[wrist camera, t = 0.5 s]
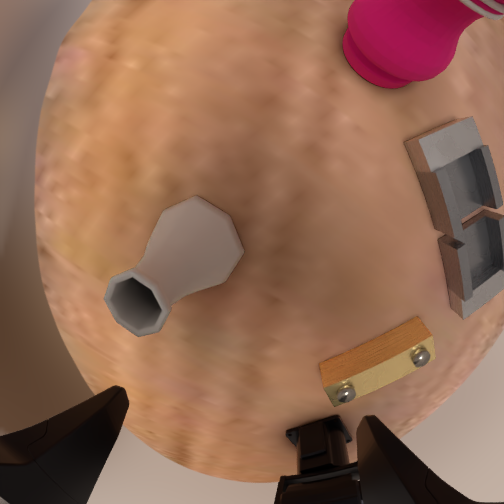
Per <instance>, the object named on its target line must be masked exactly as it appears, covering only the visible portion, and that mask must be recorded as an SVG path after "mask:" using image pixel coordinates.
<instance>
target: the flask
mask: <svg viewBox="0 0 504 504" xmlns="http://www.w3.org/2000/svg"><path fill="white" fill-rule="evenodd" d="M244 252H245V251H244V249H243V246H242V244H241V241H240V239H239V237H238V234H237V232H236V229H235V227H234V224H233V222H232V219H231V217H230V215H228V214H226V213H225V212H223V211H222V210H220V209H218V208H217V207H215V206H213V205H212V204H210V203H209V202H207V201H205V200H204V199H202V198H200V197H199V196H197V195H196V196H193V197H191V198H189V199H187V200H184V201H182V202H180V203H178V204H175V205H173V206H171V207H169V208H167V209H165V210H163V212H162V214H161V216H160V218H159V220H158V222H157V224H156V226H155V228H154V230H153V233H152V235H151V237H150V239H149V241H148V244H147V247H146V250H145V254H144V256H143V257H142V259H141V260H140V261H139V263H138V264H137V265H136V267H135V268H132V269H130V270H127V271H125V272H122V273H120V274H118V275H115V276H113V277H112V278H111V279H110V282H109V285H108V288H107V291H106V294H105V297H104V300H105V302H106V304H107V306H108V308H109V310H110V311H111V313H112V315H113V317H114V319H115V320H116V322H117V323H118V324H120V325H121V326H123V327H124V328H126V329H127V330H128V331H130V332H131V333H133V334H134V335H136V336H137V337H141V336H145V335H149V334H153V333H157V332H159V331H160V330H161V329H162V327H163V325H164V323H165V321H166V319H167V317H168V315H169V313H170V312H171V309H172V307H171V306H172V305H173V304H175V303H176V302H177V301H179V300H180V299H181V298H183V297H184V296H186V295H189V294H192V293H194V292H197V291H200V290H203V289H206V288H209V287H212V286H215V285H218V284H221V283H224V282H226V280H227V279H228V277H229V276H230V274H231V273H232V271H233V269H234V268H235V266H236V265H237V263H238V262H239V260H240V259H241V257H242V255H243V254H244Z"/></svg>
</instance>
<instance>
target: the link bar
mask: <svg viewBox="0 0 504 504" xmlns="http://www.w3.org/2000/svg"><path fill="white" fill-rule="evenodd" d="M434 359H436V357H435V348H434V341H433V335H432V334H431V333H430V331H429V330H428V329H427V328H426V326H425V325H424V324H423V323H422V321H421V320H420V319H419V318H418V317H417V316H416V317H415V318H413V319H411V320H409V321H407V322H406V323H404V324H402V325H400V326H398V327H396V328H395V329H393V330H391V331H389V332H387V333H385V334H383V335H381V336H379V337H377V338H375V339H373V340H371V341H369V342H367V343H365V344H363V345H360V346H358V347H356V348H354V349H352V350H350V351H347V352H345V353H343V354H341V355H338V356H336V357H334V358H331V359H329V360H326V361H324V362H322V363H319V366H320V371H321V377H322V382H323V388H324V390H325V392H326V393H327V395H328V397H329V399H330V400H331V402H332V404H333V406H334V407H336V406H338V405H341V404H343V403H346V402H349V401H351V400H354V399H356V398H358V397H361V396H363V395H365V394H368V393H370V392H372V391H375V390H377V389H379V388H381V387H383V386H385V385H387V384H389V383H392V382H394V381H396V380H398V379H400V378H402V377H403V376H405V375H407V374H409V373H411V372H413V371H415V370H417V369H418V368H420V367H422V366H424V365H425V364H427V363H429V362H431V361H432V360H434Z"/></svg>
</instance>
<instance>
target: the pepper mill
mask: <svg viewBox="0 0 504 504" xmlns="http://www.w3.org/2000/svg"><path fill="white" fill-rule="evenodd" d="M503 16H504V0H355V1H354V2H353V3H352V5H351V7H350V8H349V12H348V29H347V31H346V33H345V35H344V37H343V51H344V54H345V56H346V59H347V60H348V62H349V64H350V65H351V66H352V68H353V69H354V70H355V71H356V72H357V73H358V74H359V75H361V76H362V77H363V78H365V79H366V80H368V81H369V82H371V83H373V84H375V85H378V86H381V87H384V88H399V87H403V86H405V85H407V84H409V83H410V82H412V81H425V80H429V79H432V78H434V77H435V76H437V75H438V74H440V73H441V72H442V71H444V70H445V69H446V68H447V66H448V65H449V63H450V62H451V60H452V59H453V57H454V54H455V51H456V47H457V43H458V40H459V37H460V35H461V34H462V32H463V31H464V29H465V28H467V27H468V26H469V25H470V24H472V23H473V22H474V21H475V20H477V19H480V18H482V17H487V18H489V19H493V20H499V19H501V18H502V17H503Z"/></svg>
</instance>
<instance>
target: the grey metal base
mask: <svg viewBox="0 0 504 504" xmlns="http://www.w3.org/2000/svg"><path fill="white" fill-rule="evenodd" d="M404 144H405V147H406V149H407V151H408V154H409V156H410V158H411V161H412V163H413V166H414V168H415V171H416V173H417V176H418V179H419V181H420V184H421V187H422V190H423V192H424V195H425V198H426V201H427V204H428V208H429V211H430V214H431V217H432V221H433V224H434V228H435V229H436V230H438V231H441V232H443V233H445V234H446V235H445V236H443V237H441V238H440V239H438V243H439V247H440V251H441V255H442V260H443V265H444V269H445V274H446V280H447V286H448V292H449V298H450V305H451V308H452V309H453V310H454V311H455V312H456V313H457V314H458V315H459V316H460V317H461V318H462V319H463V320H464V319H465V318H467V317H468V316H469V315H471V314H472V313H474V312H475V311H476V310H478V309H479V308H480V307H482V306H483V305H484V304H486V303H487V302H488V301H489V300H491V299H492V298H493V297H494V296H496V295H497V294H498V293H499V292H501V291H502V290H503V289H504V215H501V214H498V213H495V212H491V211H488V210H483V211H482V212H480V213H479V214H477V215H476V216H474V217H473V218H471V219H470V220H468V221H467V222H465V223H464V224H462V223H461V219H462V218H464V217H465V216H467V215H469V214H470V213H472V212H473V211H475V210H476V209H478V208H479V207H481V206H482V205H483V206H487V207H491V208H494V209H498V208H499V207H501V206H502V205H503V201H502V196H501V191H500V187H499V183H498V179H497V175H496V171H495V167H494V164H493V160H492V157H491V153H490V150H489V147H488V145H483V143H482V140H481V137H480V134H479V132H478V129H477V126H476V124H475V121H474V119H473V116H471V117H466V118H461V119H456V120H454V121H451V122H449V123H447V124H444V125H442V126H440V127H437V128H435V129H433V130H430V131H428V132H426V133H423V134H421V135H419V136H417V137H414V138H412V139H410V140H408V141H405V142H404Z"/></svg>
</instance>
